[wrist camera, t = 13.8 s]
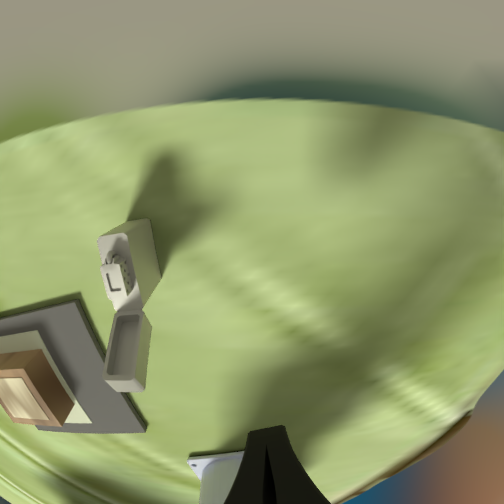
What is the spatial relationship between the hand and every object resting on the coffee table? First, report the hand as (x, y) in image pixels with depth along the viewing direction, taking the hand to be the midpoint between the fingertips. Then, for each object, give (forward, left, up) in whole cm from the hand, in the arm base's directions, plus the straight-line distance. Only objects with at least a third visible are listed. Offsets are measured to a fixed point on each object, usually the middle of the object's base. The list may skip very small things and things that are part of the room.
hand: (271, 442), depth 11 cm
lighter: (+5, +6, -11) cm, 13 cm away
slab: (-2, +18, -8) cm, 19 cm away
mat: (-2, +19, -10) cm, 22 cm away
